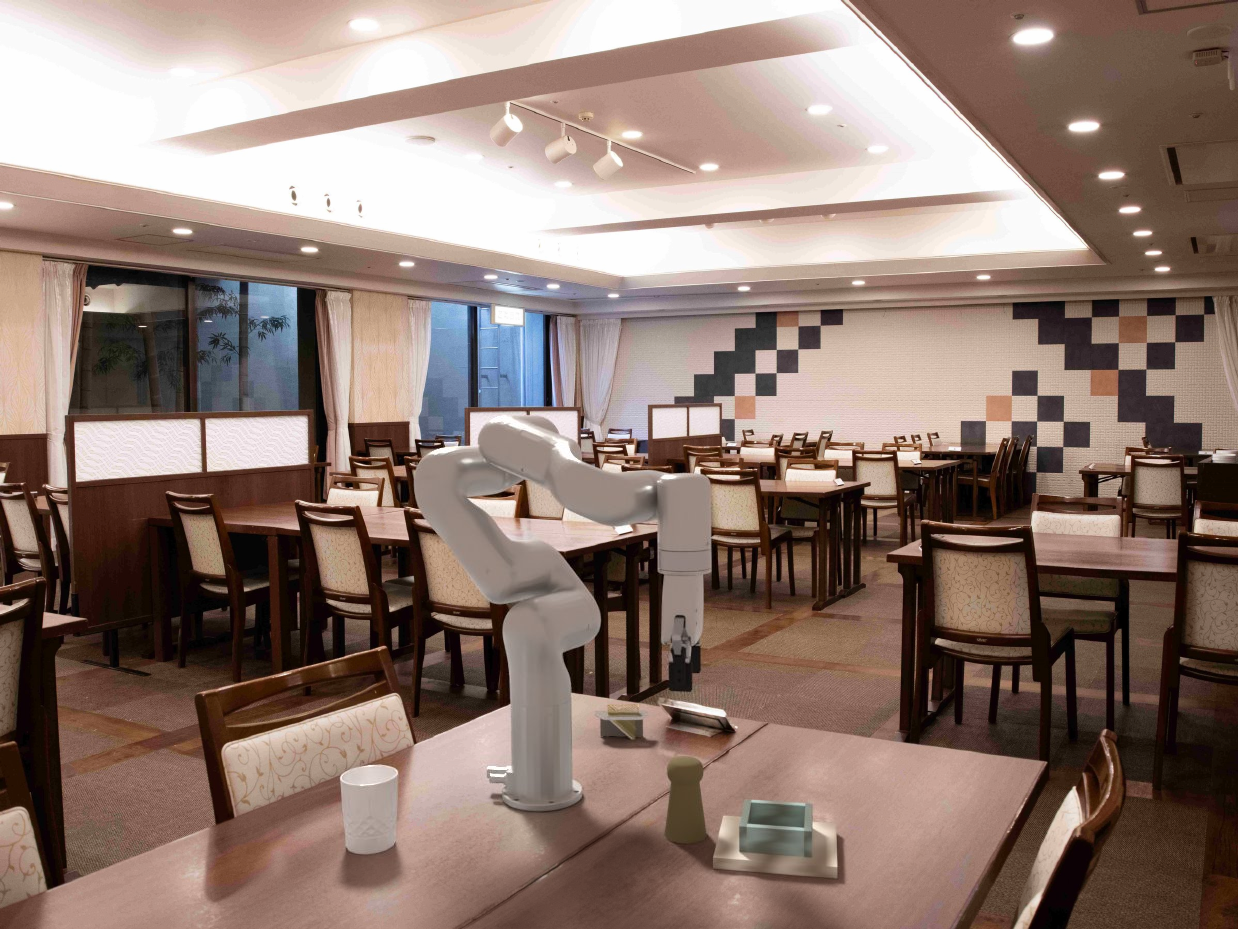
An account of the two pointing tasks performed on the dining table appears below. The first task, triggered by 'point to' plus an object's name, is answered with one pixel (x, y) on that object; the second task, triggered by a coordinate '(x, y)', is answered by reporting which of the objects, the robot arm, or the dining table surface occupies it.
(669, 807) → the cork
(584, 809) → the dining table surface
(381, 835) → the white cup
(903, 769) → the dining table surface
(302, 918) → the dining table surface
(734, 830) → the shaker caddy
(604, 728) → the platform
